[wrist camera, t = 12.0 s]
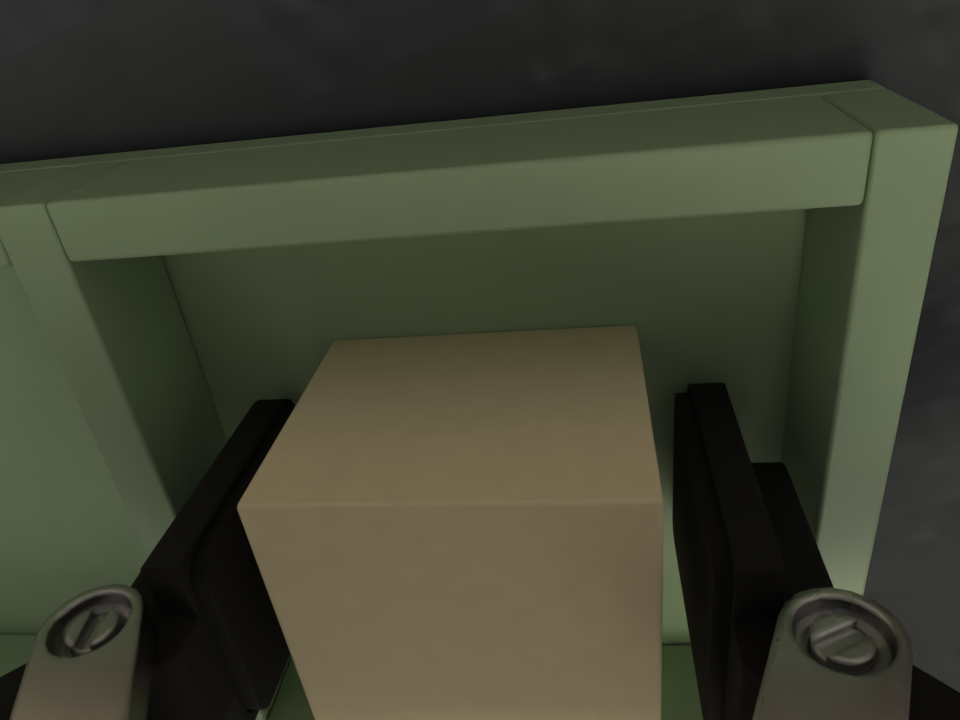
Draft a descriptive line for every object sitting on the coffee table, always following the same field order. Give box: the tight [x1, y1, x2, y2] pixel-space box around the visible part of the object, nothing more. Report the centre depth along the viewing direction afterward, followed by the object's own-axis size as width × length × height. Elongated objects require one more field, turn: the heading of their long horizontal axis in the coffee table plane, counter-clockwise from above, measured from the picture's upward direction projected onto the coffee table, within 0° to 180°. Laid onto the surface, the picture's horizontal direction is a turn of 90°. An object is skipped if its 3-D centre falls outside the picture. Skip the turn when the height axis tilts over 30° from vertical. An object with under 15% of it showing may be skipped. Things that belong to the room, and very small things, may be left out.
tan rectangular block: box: [237, 325, 663, 720], centre depth 11 cm, size 5×5×4 cm
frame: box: [0, 80, 958, 720], centre depth 13 cm, size 21×11×3 cm, turn 97°
